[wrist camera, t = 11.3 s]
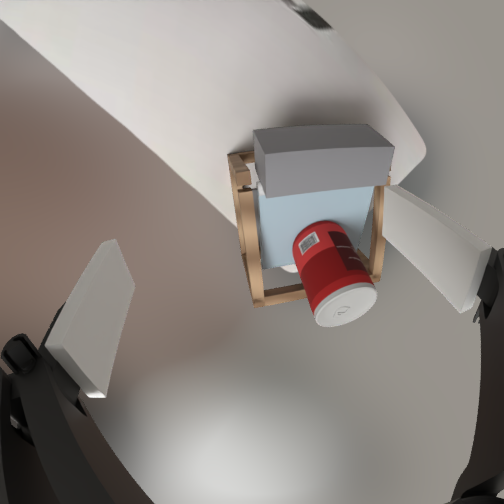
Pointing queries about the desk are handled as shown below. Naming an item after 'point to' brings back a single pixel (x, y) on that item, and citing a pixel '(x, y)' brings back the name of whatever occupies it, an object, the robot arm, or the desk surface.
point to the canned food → (332, 274)
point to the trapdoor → (315, 181)
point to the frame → (251, 235)
